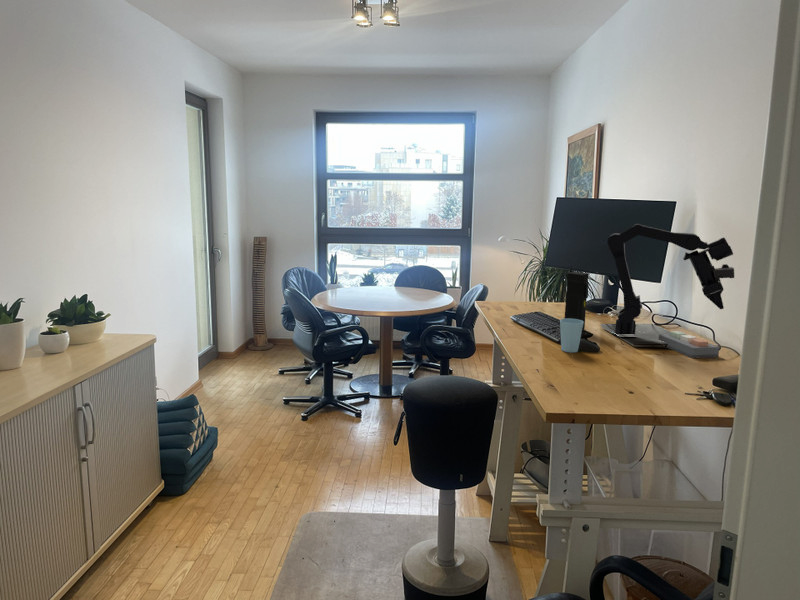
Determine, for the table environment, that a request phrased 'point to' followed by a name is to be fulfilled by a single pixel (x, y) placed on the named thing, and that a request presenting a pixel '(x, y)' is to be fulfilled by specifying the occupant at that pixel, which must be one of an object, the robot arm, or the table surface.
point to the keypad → (689, 347)
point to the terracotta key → (699, 342)
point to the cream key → (687, 338)
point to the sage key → (676, 334)
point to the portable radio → (576, 296)
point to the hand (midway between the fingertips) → (721, 306)
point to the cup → (570, 334)
